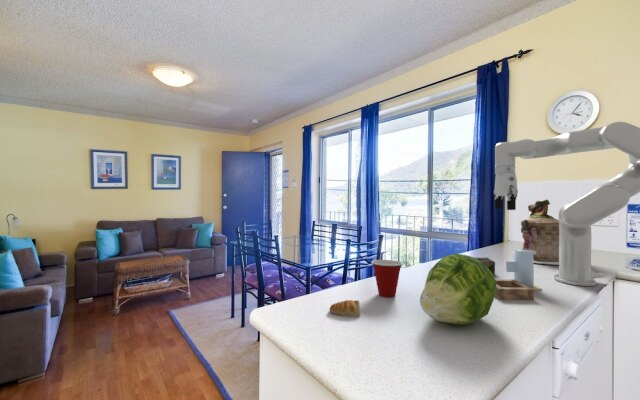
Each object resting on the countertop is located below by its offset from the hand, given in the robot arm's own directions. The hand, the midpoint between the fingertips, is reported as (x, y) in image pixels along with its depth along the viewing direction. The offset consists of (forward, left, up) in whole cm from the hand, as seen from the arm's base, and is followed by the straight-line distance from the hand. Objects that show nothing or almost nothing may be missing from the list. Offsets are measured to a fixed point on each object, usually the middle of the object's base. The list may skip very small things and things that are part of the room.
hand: (504, 209), depth 127 cm
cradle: (+14, +28, -28) cm, 42 cm away
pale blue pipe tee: (+3, +20, -28) cm, 34 cm away
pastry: (+70, +47, -29) cm, 89 cm away
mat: (+4, +20, -28) cm, 35 cm away
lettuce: (+40, +50, -28) cm, 70 cm away
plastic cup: (+56, +31, -28) cm, 70 cm away
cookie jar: (-32, -25, -29) cm, 50 cm away
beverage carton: (+15, -1, -29) cm, 32 cm away
